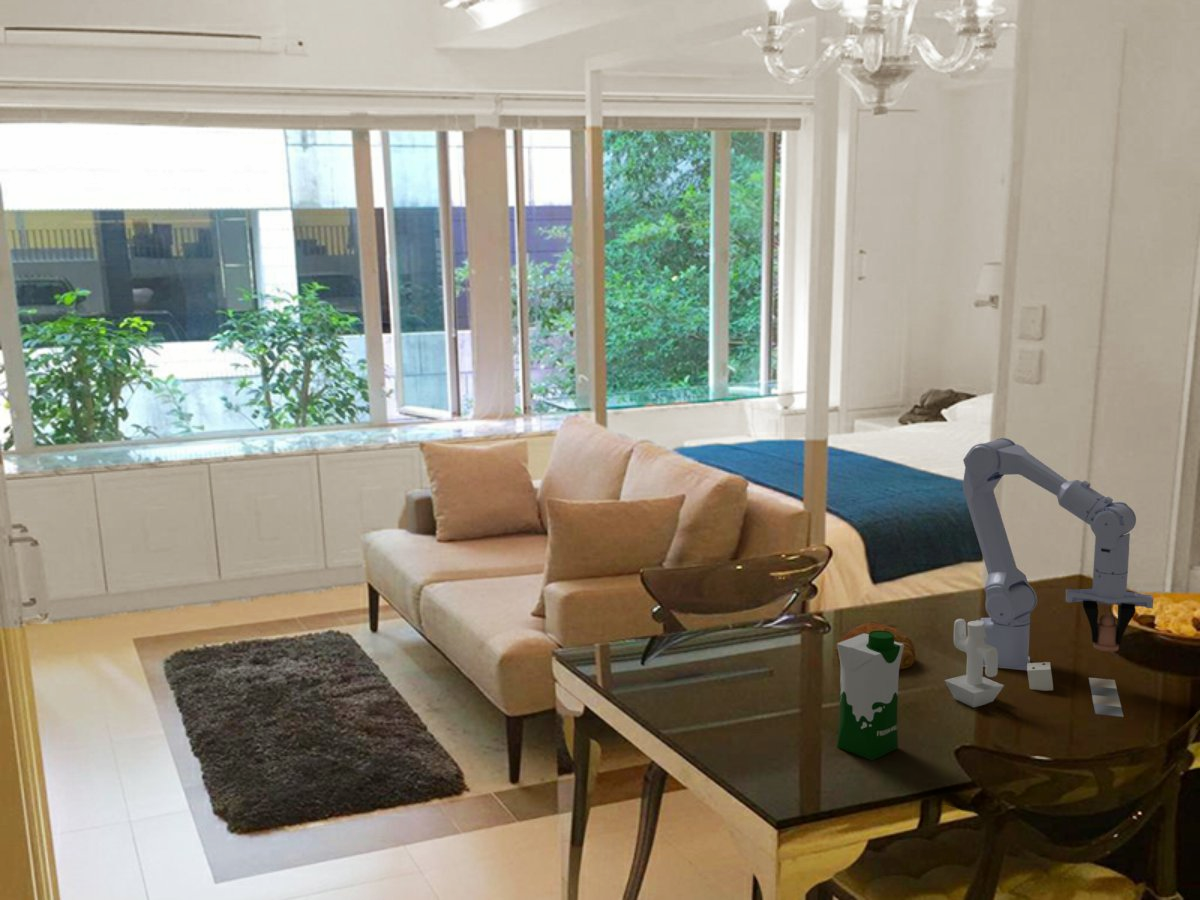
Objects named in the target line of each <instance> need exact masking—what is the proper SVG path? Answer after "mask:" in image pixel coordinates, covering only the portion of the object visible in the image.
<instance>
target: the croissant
mask: <svg viewBox="0 0 1200 900" xmlns="http://www.w3.org/2000/svg"><path fill="white" fill-rule="evenodd" d="M877 630H881V631H888V632H891V633H893V634H894V641H895V642H898V643H901V644H904V648H903V653H902V657H901V662H900V667H899V670H904V669H909V668H910V667H911V666H913V664H914V663H915V659H916V649H915V644H914V643H913V642H912V639H910V638H909V637H908V636H907V635H905V634H904V633H902V632H901V631H899V629H896V628H894V627H891V626H888V625H885V624H880V623H878V622H873V621H872V622H870V621H869V622H865V623H862V624H859V625H858V626H856V627H853V629H851V630H849V631H848V632H847V633H846V634H844V635H843V636H842V637H841V638H840V640H839V642H838V643H840V642H842V641H845V640H848V639H850V638H853V637H856V636H858V635H861V634H864V633H865V634H869V633H870V632H871V631H877ZM833 650H834V651H835V655H836V657H837V658H838V660H839V661H840V658H839V653H838V648H837V644H836V645H835V647H834V649H833Z"/></svg>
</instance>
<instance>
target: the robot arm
mask: <svg viewBox="0 0 1200 900" xmlns="http://www.w3.org/2000/svg"><path fill="white" fill-rule="evenodd" d="M962 461H963V464H964V467H965V468H964V475H963V481H962V492H963V495H964V498H965V502H966V505H967V508H968V511H969V515H970V519H971V521H972V524H973V528H974V532H975V534H976V538H977V541H978V544H979V545H978V546H979V548H980V551H981V554H982V558H983V561H984V564H985V568H986V571H987V579H986V582H985V585H984V588H983V590H984V592H985V603H984V605H985V606H984V608H985V611H986V614H987V615H988V617H980V621H983V622H984V623H985V631H986V632H985V634H986V638H984V642H985V644H988V645H991V646H993V647H995V648H996V649H997V652H998V668H999V669H1009V670H1018V671H1019V670H1020V671H1027V663H1031V657H1030V656H1029V652H1030V651H1029V650H1030V649H1029V648H1030V631H1031V626H1030V625H1031V612H1032V611H1033V610H1034V609H1035V608H1036V606H1037V604H1038V597H1037V596H1038V595H1037V593H1036V591H1035V589H1034V588H1033V587H1032V586H1031V585H1030V582H1029V581H1028V579H1027V576H1026V574H1025V573H1024V572H1023V571H1022V570H1020V569H1019V568H1018V567H1017V565H1016V560H1015V557H1014V555H1013V551H1012V548H1011V544H1010V542H1009V541H1010V540H1009V537H1008V534H1007V530H1006V529H1005V524H1004V521H1003V518H1002V515H1001V511H1000V508H999V505H998V502H997V499H996V495H995V492H994V491H995V488H996V487H997V485H998V484H999V482H1000V481H1001V479H1002V478H1003V477H1004V475H1005V476H1006V475H1010V476H1011V475H1020V476H1022V477H1023V478H1025V479H1027V480H1029V481H1031V482H1032V483H1034V484H1035V485H1037V486H1039V487H1041V488H1042V489H1044V490H1046V491H1047V492H1049V493H1051V494H1052V495H1055V496H1056V499H1057V502H1058V504H1059V506H1060V507H1061V508H1063V509H1064V510H1066V511H1067V512H1069V513H1070V514H1072V515H1074V516H1075V517H1077V518H1078V519H1080V520H1081V521H1083V522H1084V523H1086V524H1087V525H1089V526H1090V530H1091V531H1092V533H1093V534H1094V536H1095V538H1094V539H1095V542H1094V552H1093V553H1094V555H1093V572H1092V588H1089V589H1088V588H1087V589H1086V588H1085V589H1084V588H1083V589H1082V588H1081V589H1069V588H1066V589H1065V602H1066V603H1073V602H1075V603H1082V607H1083V610H1084V612H1085V615H1086V617H1087V620H1088V622H1089V626H1090V631H1091V641H1092V643H1093V644H1094V643H1097V623H1098V617H1099V607H1098V606H1099V605H1098V604H1102V605H1103V604H1104V605H1115V606H1116V605H1117V623H1116V625H1117V640H1116V644H1117V645H1119V646H1120V645H1122V640H1123V637H1124V634H1125V632H1126V629H1127V627H1128V626H1129V624H1130V622H1131V620H1132V619H1133V617H1134V616H1135V615H1136V607H1142V608H1143V607H1144V608H1146V609H1154V597H1153V595H1151V594H1144V593H1143V594H1142V593H1136V592H1130V591H1127V589H1128V588H1127V587H1128V574H1129V573H1128V571H1129V560H1130V559H1129V556H1130V540H1131V539H1130V538H1131V536H1130V535H1131V533H1130V532H1131V531H1132V530H1133V529H1134V528H1135V527H1136V523H1137V517H1136V514H1135V512H1134V510H1133V509H1132V508H1131V507H1130V506H1129V505H1128V504H1127V503H1126V502H1122V501H1117V502H1116V501H1115V502H1114V501H1113V498H1112V497H1110V496H1104V495H1103V494H1102V493H1100V492H1098V491H1096V490H1095V489H1093V488H1092V487H1091V483H1090V482H1088V481H1087V480H1083V481H1081V480H1078V479H1075V480H1071V481H1069V480H1067V479H1065V478H1064V477H1063V476H1061V475H1060V474H1059V473H1057V471H1054V470H1053V469H1052V468H1050V467H1049V466H1047V465H1046V464H1045V463H1043V462H1042V461H1040V460H1039V459H1038V458H1036V457H1035V456H1033V454H1030V452H1029V451H1027V449H1026V448H1025V447H1024V446H1022V445H1020V444H1018V443H1015V441H1013V440H1011V439H1010V438H1008V437H1007V438H1006V437H999V438H996V439H994V440H991V441H987V442H985V443H983V442H982V443H976V444H974V445H973V446H972V447H970V449H969V451H968V452H967V454H966V455H965V456H964V458H963V460H962ZM983 668H985V661H984V659H983Z"/></svg>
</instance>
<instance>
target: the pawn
mask: <svg viewBox="0 0 1200 900" xmlns="http://www.w3.org/2000/svg"><path fill="white" fill-rule="evenodd" d="M1116 640H1117V623H1116V619H1115V617H1114V615H1112V614H1110V613H1105V614H1102V615H1101V616H1100V618H1099V622H1097V643H1093V648H1094V649H1095V650H1097V651H1102V652H1107V653H1108V652H1109V653H1111V652H1112V653H1113V652H1118V651H1119V649H1120V648H1119V646H1120V645H1117V644H1116Z"/></svg>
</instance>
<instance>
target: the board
mask: <svg viewBox="0 0 1200 900" xmlns="http://www.w3.org/2000/svg"><path fill="white" fill-rule="evenodd" d="M1088 681H1089V687H1090V691H1091V698H1092V703H1093V708H1094V714H1095V715H1099V716H1100V715H1101V716H1108V717H1109V716H1110V717H1111V716H1112V717H1119V718H1120V717H1121V718H1124V713H1123V708H1122V704H1121V701H1120V696H1119V693H1118V688H1117V683H1116V680H1115V679H1110V678H1098V677H1088Z"/></svg>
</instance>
